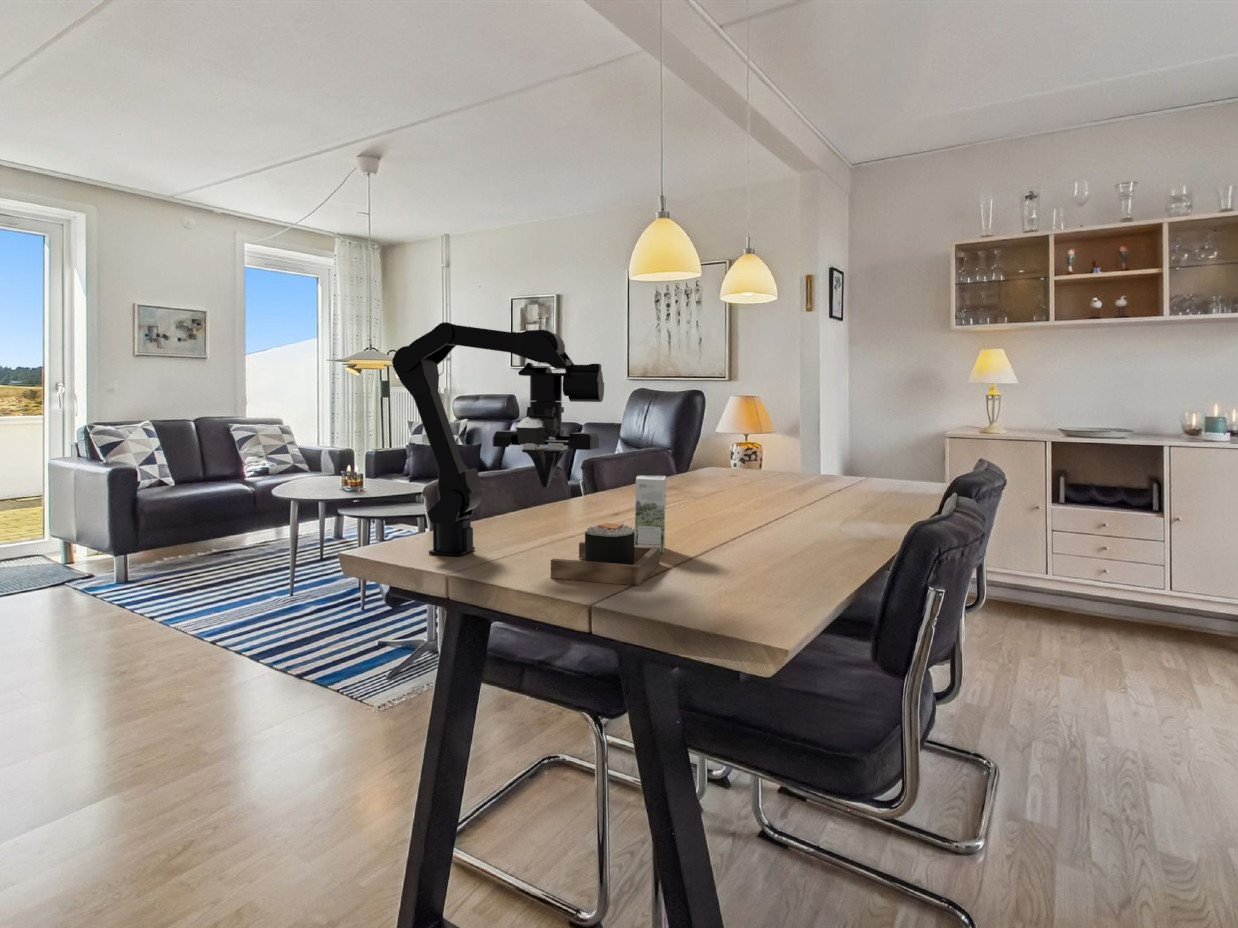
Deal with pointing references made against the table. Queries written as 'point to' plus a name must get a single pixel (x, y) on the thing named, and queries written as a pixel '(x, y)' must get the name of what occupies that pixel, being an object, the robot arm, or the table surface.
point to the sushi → (610, 544)
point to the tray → (608, 567)
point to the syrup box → (650, 511)
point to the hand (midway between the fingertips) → (545, 487)
